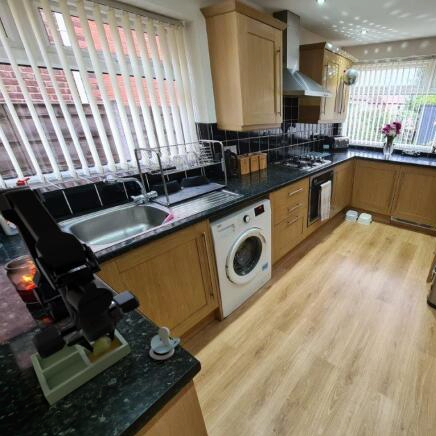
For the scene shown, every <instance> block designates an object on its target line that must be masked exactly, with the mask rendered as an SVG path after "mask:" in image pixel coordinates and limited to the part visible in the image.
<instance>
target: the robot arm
mask: <svg viewBox="0 0 436 436" xmlns="http://www.w3.org/2000/svg"><path fill="white" fill-rule="evenodd" d="M44 203H46V199H45V196H44V194H43V192H42V190H41V188H40V187H31V186H30V185H28V184H27V185H20V186H15V187H14V186H13V187H10V188H2V189H0V216H1V217H2V218H3V219H4V220H5V221H7V222H9V223H11V224H12V225H14V227H15V228H16V230H17V232H18V235H19V237H20V239H21V241H22V243H23V245H24V247H25V249H26V252H27V253H28V255H29V257H30V260H31V262H32V264H33V266H34V268H35V272H34V275H33V277H32V279H31V280H32V283H33V284H34V287H32V292H33V295H34V296H35V298H36V300H37V302H38V303H39V304H40V305H41V306H42V307H44V306H46V305H47V306H48V307H49V310H50V311H49V315H50V316H51V318H52V320H53V321H54V323H57V322H59V321H61V320H63V319H65V318H67V317H70V318H71V319H72V323H70V324H69V325H67V326H65V327H63V328H61V329H59V328H58V327H57V325H53V326H51V327H48V328H46V329H45V330H42V331H40V332H38V333H36V334H34V335H33V337H32V339H31V340H32V342H33V345H34V347H35V350H36V353H37V352H38V353H39V355H40V357H41V359H43V358H47V357H49V356H51V355H53V354H54V353H56V352H58V351H60V350H62V349H63V347H64V346H65V344H66V345H67V346H68V347H72V346H73V345H80V346H83V347H84V348H86V349H87V350H89V351H91V352H92V353H93V347H92V345H91V344H90V343H89V341H90V342H94V341H96V340H98V339H99V338H100V337H102V336H104V335H106V334H108V335H109V337H110V339H111V341H113V340H114V334H115V329H116V327H117V325H118V323H120V322H121V320H122V319H123V318H124V314H129V313H131V312H132V311H135V310H136V309H138V308H140V306H141V304H140V300H139V298H138V296H136V295H135V294H134V293H133V292H132V291H131V290H128V289H127V290H124V291H123V292H120V293H118V294H117V295H114V293H113V292H112V291H111V290H110V289H109V288H107V286H105V285H104V284H103V283H102V282H100V281H98V280H97V279H96V278H95V275H94V274H97V273H99V272H101V271H102V269H101V267H100V264H101V261H100V260H99V258H98V256H97V255H96V253H95V252H94V251H93V249H92V247H91V246H90V245H88V244H87V243H86V242H82V241H81V240H80V239H79V238H78V237H77V236H76V235H75V234H74V233H72V232H68V231H64V230H63V229H62V228H61V227H60V225H59V224H58V223H57V221H56V220H55V219H54V217H53V216H52V214H51V213H50V212H49V211H48V209H47V208H46V206H45V205H44ZM88 262H89V263H90V265H89V264H88ZM87 264H88V265H87ZM83 266H84V267H83ZM123 313H124V314H123ZM80 330H83V332H84V334H85V336H86V337H87V339H88V340H87V339H86V337H85V336H84V335H83V333H82V332H81V331H80Z"/></svg>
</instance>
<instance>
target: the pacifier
mask: <svg viewBox="0 0 436 436" xmlns="http://www.w3.org/2000/svg"><path fill="white" fill-rule="evenodd" d="M157 333H158V334H156V335H154V336H153V337H152V338H151V341H150V347H151V348H150V350H149V352H148V354H149V356H150V357H151V358H152V359H154V360H156V361H157V360H158V361H163V360H167V359H169V358H171V357H172V356H173V355H174V353H175V348H176V347H177V346H178V345H179V343H180V341H181V338H180V337H174V338H170V329H169V328H168V327H166V326H162V327H160V328H159V329H158V330H157ZM172 339H173V340H172ZM154 352H155V353H154ZM156 353H157V354H156ZM159 354H164V355H159Z"/></svg>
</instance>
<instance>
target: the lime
mask: <svg viewBox="0 0 436 436" xmlns="http://www.w3.org/2000/svg"><path fill="white" fill-rule="evenodd" d="M110 344H111V339H110V337H109V335H107V334H106V335H104V336H102V337H100V338H99V339H98V340H96V341H94V347H93V357H97V356H100V355H102V354H103V353H105V352H106V351H107V350H108V349H109V347H110Z"/></svg>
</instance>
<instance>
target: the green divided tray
mask: <svg viewBox="0 0 436 436" xmlns="http://www.w3.org/2000/svg"><path fill="white" fill-rule="evenodd" d="M80 331H81V332H82V333H83V335H84V336H85V334H84V332H83V330H80ZM107 335H108V334H107ZM85 337H86V336H85ZM86 339H87V337H86ZM87 340H88V339H87ZM89 343H90V344H91V345H92V347H94V342H90V341H89ZM130 353H132V350H131V347H130V345H129V343H128V342H127V340H125V338H124V337H123V335H121V334H120V332H119V331H118V330H117V329H116V328H115V334H114V340H113V341H111V344H110V347H109V349H108V350H107V351H106V352H105V353H103V354H102V355H100V356H97V357H93V353H92V352H91V351H89V350H87V349H86V348H84V347H83V346H80V345H73V346H72V347H68V346H67V345H66V344H65V346H64V347H63V349H62V350H60V351H58V352H56V353H54V354H53V355H51V356H49V357H47V358H43V359H41V357H40V355H39V353H38V352H37V351H36V352H35V353H33V354H31V355H29V359H30V361H31V364H32V366H33V369H34V372H35V374H36V377H37V380H38V382H39V385H40V388H41V389H42V393H43V396H44V397H45V399H46V401H47V402H48V404H49V406H53V405H54V404H56V403H57V402H58V401H60V400H62V399H63V398H64V397H66V396H67V395H69V394H70V393H72V392H74V391H75V390H76V389H78V388H80V387H81V386H83V385H84V384H86V383H87V382H89V381H90V380H91V379H93V378H94V377H96V376H98V375H99V374H101V373H102V372H104V371H105V370H106V369H108V368H110V367H112V366H113V365H114V364H116V363H117V362H119V361H121V360H122V359H123V358H124V357H126V356H128V355H129V354H130Z"/></svg>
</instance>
